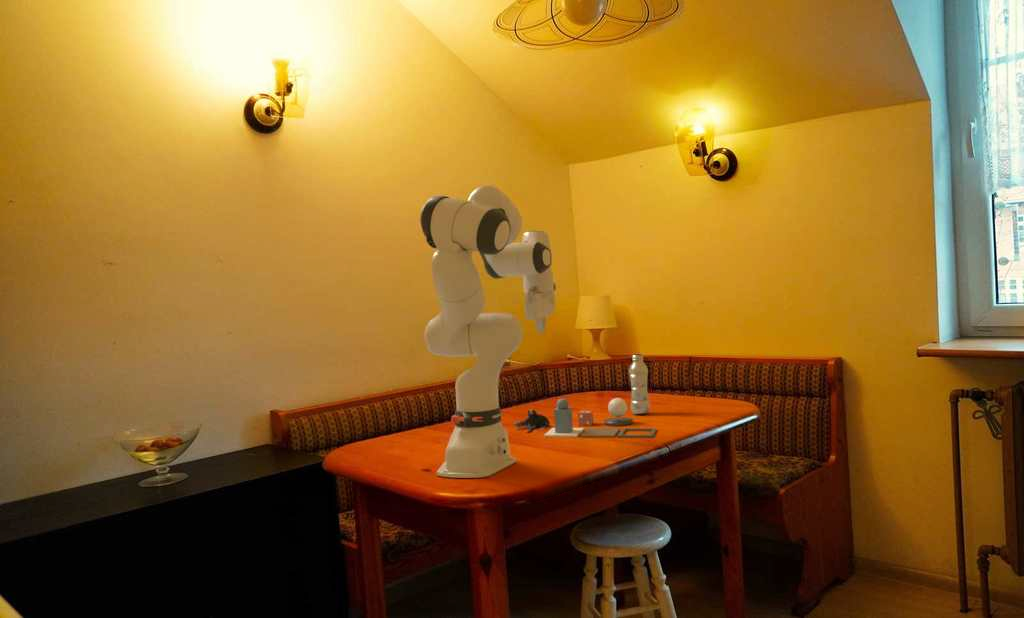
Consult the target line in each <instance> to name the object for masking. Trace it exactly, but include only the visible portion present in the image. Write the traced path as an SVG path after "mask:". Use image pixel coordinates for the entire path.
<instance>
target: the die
mask: <svg viewBox="0 0 1024 618" xmlns="http://www.w3.org/2000/svg"><path fill="white" fill-rule="evenodd" d="M577 417H578V419H577V422H578V427H581V426H583V427H589V426H590V427H591V426H592V425H594V423H595V422H594V410H580V411H579V412H578V413H577Z"/></svg>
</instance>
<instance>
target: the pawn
mask: <svg viewBox="0 0 1024 618" xmlns="http://www.w3.org/2000/svg"><path fill="white" fill-rule="evenodd" d="M569 405H570V404H569V401H568V400H567V398H564V397H562V398H559V399H557V401H556V407H555V408H554V409H553V412H554V414H553V415H554V416H553V417H554V428H555V433H570V432H571V431H572V430H573V428H574V426H573V425H574V424H573V410H572V409H573V407H572V406H569Z"/></svg>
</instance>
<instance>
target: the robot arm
mask: <svg viewBox="0 0 1024 618" xmlns="http://www.w3.org/2000/svg"><path fill="white" fill-rule="evenodd" d="M419 219H420V220H419V221H420V226H421V230H422V233H423V235H424V237H425V238H426V243H427V245H428V246H430V247H431V248H432V249H435V250H436V251H435V252H434V254H433V255H432V258H431V261H430V262H431V263H430V266H431V267H430V269H431V278H432V283H433V286H434V291H435V293H436V297H437V299H438V303H439V306H440V307H439V308H440V312H439V313H438V314H437V315H436V316H434V318H432V319H431V320H429V322H428V323H427V325H426V327H425V328H424V329H425V330H424V334H423V335H424V336H423V337H424V339H423V340H424V343H425V346H426V348H427V350H428V351H429V353H431V354H432V355H433V356H434V355H435V356H442V357H447V358H448V357H449V358H454V357H455V358H457V357H476V362H475V365H474V366H472V367H471V368H468V369H467V370H465V371H463V373H461V374H460V375H459V376H458V377H457V378H456V381H455V384H454V387H455V400H456V401H455V402H456V404H455V405H456V410H455V411H454V415H451V418H450V420H451V422H450V423H452V424H454V428H453V431H452V433H451V435H450V437H449V440H448V443H447V446H446V448H445V461H443V463H442V464H441V466H440V467H439V468H438V470H436V475H437V476H440V477H443V478H444V477H445V478H458V479H459V478H461V479H463V478H464V479H465V478H466V479H468V478H469V479H471V478H473V479H475V478H486V477H490V476H492V475H494V474H496V473H498V472H500V471H502V470H504V469H505V468H507V467H509V466H511V465H513V464H514V463H516V462H517V461H516V457H515V456H512V455H511V451H510V443H509V442H510V441H509V436H508V434H509V433H508V429H506V427H504V425H503V424H502V422H501V421H502V409H501V407H500V405H499V404H500V403H499V402H500V401H499V381H500V380H499V379H500V374H501V370H502V369H503V368H502V367H503V366H504V364H505V362H506V361H507V359H508V358H509V357H510V356H511V355H512V354H513V353H514V352H516V351H517V349H519V347H520V345H521V343H522V340H523V334H524V333H523V327H522V324H521V322H520V321H519V319H518V318H517V317H516V316H515V315H514V314H511V313H502V312H486V313H484V312H483V310H484V309H485V305H486V297H485V294H484V289H483V287H482V286H483V285H482V282H481V281H482V280H481V279H480V275H479V272H478V269H477V266H476V265H475V263H474V260H473V252H476V253H479V255H480V256H481V259H482V262H483V266H484V269H485V272H486V274H488V275H489V276H490V277H491V278H493V279H495V280H497V279H504V278H510V277H511V278H514V277H522V282H523V293H525V296H524V315H525V316H524V317H525V319H526V320H534V323H535V326H536V333H537V334H544V333H546V323H547V318H548V317H551V316H553V315H554V313H555V309H556V307H555V306H556V305H555V297H556V296H555V292H556V290H557V286H556V283H555V282H554V275H553V271H552V262H553V257H552V248H551V242H550V237H549V234H548V233H547V232H545V231H543V230H529V231H526V232H524V233H523V234H522V239H521V242H515V241H516V240H517V239H518V237H519V236H520V233H521V231H522V228H523V220H522V219H523V218H522V216H521V214H520V211H519V209H518V208H517V206H516V205H515V204H514V203H513V201H512V199H510V197H508V195H506V193H505V192H503V191H502V190H501V189H499V188H497V187H496V186H493V185H489V184H487V185H481V186H478V187H477V188H476V189H474V190H472V191H471V193H470V195H469V197H468V199H467V200H465V199H459V198H452V197H449V196H446V195H445V196H444V195H443V196H442V195H441V196H440V195H438V196H433V197H430V198H429V199H428V200H427V201H426V203H425V204H424V205H423V207H422V209H421V212H420V217H419ZM482 312H483V313H482Z"/></svg>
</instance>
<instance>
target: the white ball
mask: <svg viewBox="0 0 1024 618" xmlns="http://www.w3.org/2000/svg"><path fill="white" fill-rule="evenodd" d="M607 409H608V412H609V414H610V415H611V416H613V417H614V418H615V417H624V415H626V413H627V412H628V411H627V410H628V404H627V402H626V400H624V399H623V398H620V397H615V398H612V399H611V400H610V401H609V402H608V405H607Z"/></svg>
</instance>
